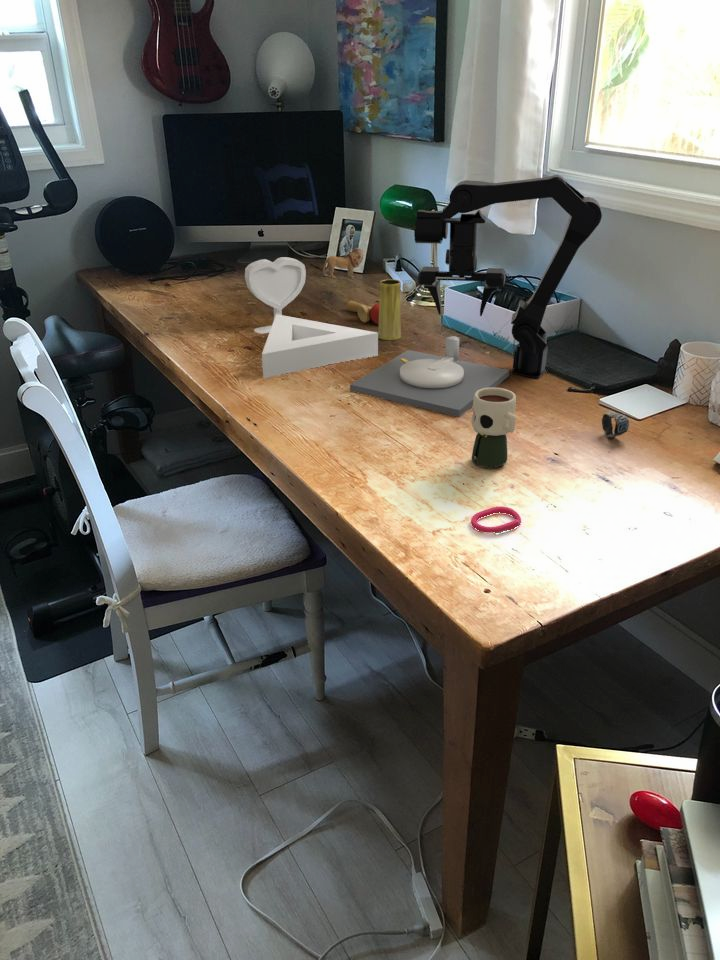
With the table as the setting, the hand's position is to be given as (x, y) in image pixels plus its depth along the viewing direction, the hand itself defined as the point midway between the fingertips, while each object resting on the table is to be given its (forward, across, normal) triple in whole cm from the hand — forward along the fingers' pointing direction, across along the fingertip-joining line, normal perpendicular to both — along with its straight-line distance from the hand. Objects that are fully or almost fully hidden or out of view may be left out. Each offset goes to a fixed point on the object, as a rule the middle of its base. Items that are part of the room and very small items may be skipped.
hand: (460, 314), depth 171 cm
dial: (+11, +4, +10) cm, 15 cm away
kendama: (+12, +29, -32) cm, 45 cm away
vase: (+12, +20, -18) cm, 29 cm away
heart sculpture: (+11, +50, -19) cm, 55 cm away
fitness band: (+13, -14, +67) cm, 69 cm away
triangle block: (+12, +38, +5) cm, 40 cm away
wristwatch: (+14, -33, +31) cm, 47 cm away
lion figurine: (+11, +47, -75) cm, 90 cm away
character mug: (+13, -11, +47) cm, 50 cm away
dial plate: (+12, +5, +12) cm, 18 cm away
